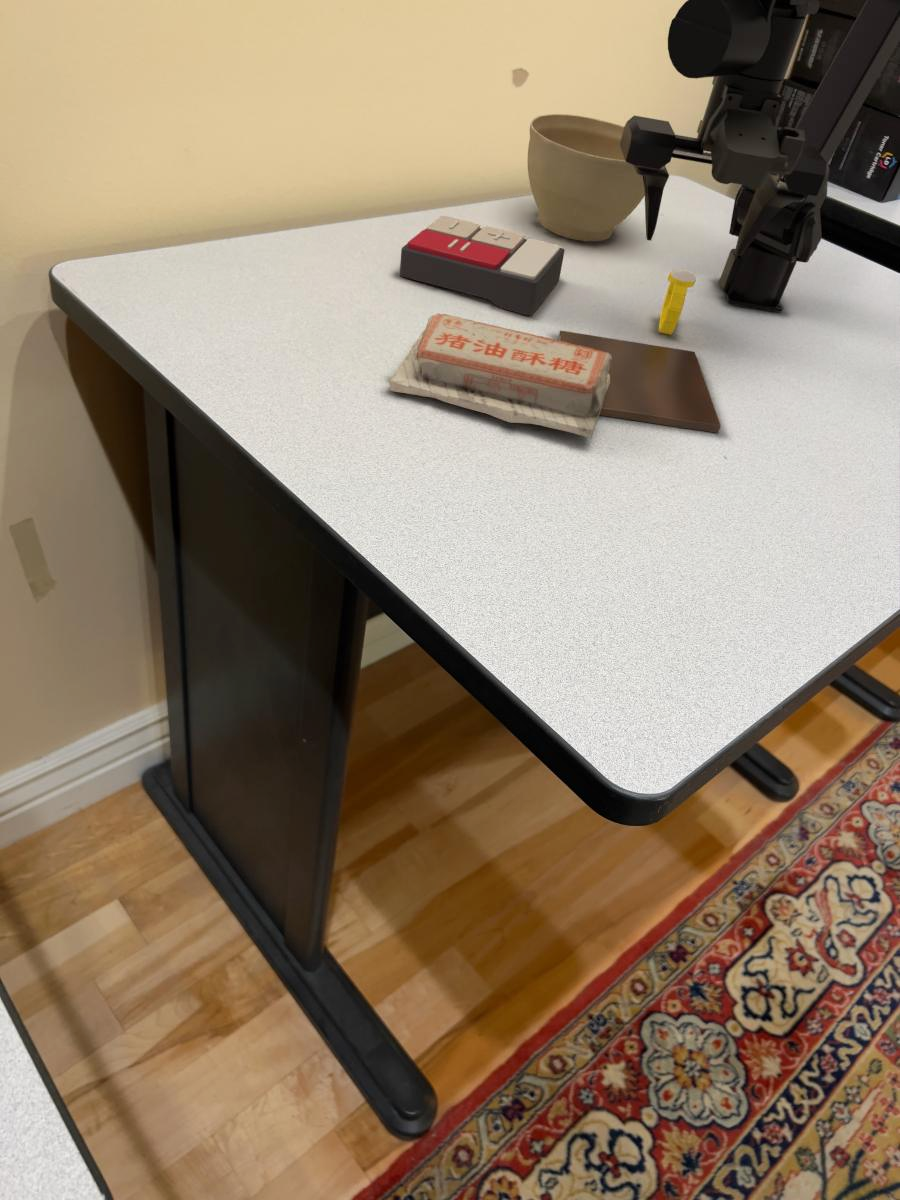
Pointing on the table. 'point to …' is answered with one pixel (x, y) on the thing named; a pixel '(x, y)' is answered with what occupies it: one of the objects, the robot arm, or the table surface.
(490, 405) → the packaged product
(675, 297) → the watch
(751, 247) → the robot arm
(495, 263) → the calculator
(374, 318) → the table surface
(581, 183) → the planter bowl
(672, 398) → the coaster
